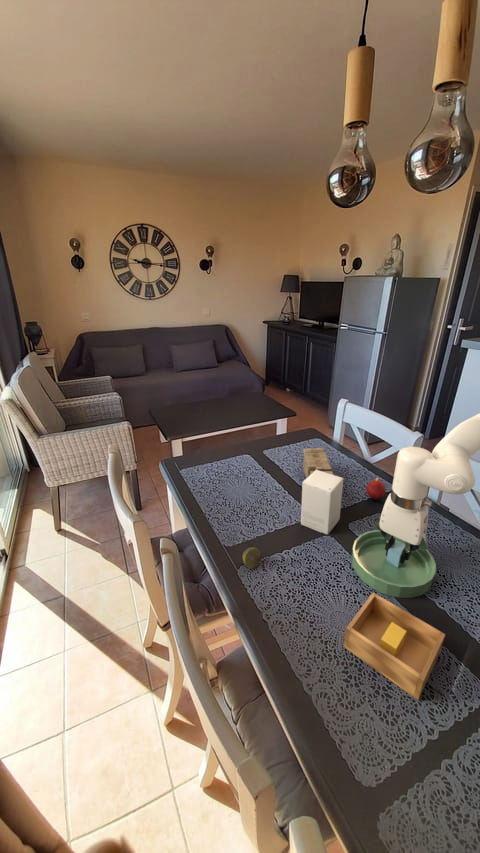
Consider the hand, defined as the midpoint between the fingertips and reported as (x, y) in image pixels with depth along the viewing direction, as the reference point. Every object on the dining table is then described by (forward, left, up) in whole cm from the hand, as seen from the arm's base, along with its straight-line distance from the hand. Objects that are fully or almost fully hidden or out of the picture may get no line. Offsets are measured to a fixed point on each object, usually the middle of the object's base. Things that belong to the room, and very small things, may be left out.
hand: (396, 556), depth 93 cm
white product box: (+23, -1, -2) cm, 23 cm away
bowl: (0, +3, -2) cm, 3 cm away
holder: (-9, +24, -2) cm, 26 cm away
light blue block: (0, 0, -1) cm, 1 cm away
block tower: (+33, -16, -2) cm, 37 cm away
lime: (+27, +26, -2) cm, 38 cm away
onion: (+16, -22, -2) cm, 27 cm away
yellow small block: (-9, +24, -1) cm, 26 cm away
